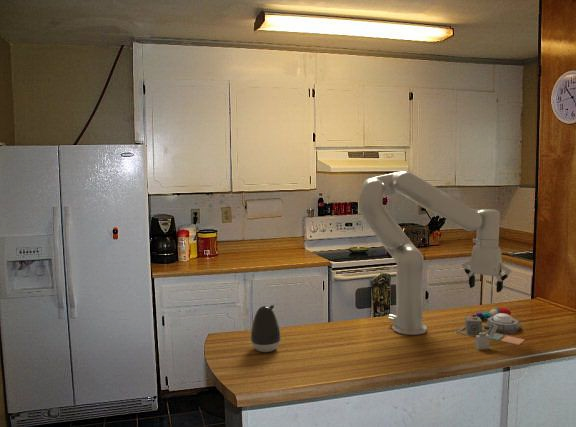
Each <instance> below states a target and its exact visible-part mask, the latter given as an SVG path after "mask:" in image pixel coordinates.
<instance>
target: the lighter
mask: <svg viewBox="0 0 576 427" xmlns="http://www.w3.org/2000/svg"><path fill="white" fill-rule="evenodd" d="M497 327H498V326H497V325H495V324H493V323H492V324H491V326H490V328H489V330H487V331H488V333H487V334H486V333H485V332H486V331H482V332H481V333H480V334H475V336H476V337H475V349H477V350H479V351H480V350H487V349H490V339H489V338H490V336H491V337H493V336H494V334H495V333H496V332H497V331H496V330H497Z"/></svg>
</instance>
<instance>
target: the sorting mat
mask: <svg viewBox="0 0 576 427" xmlns="http://www.w3.org/2000/svg"><path fill="white" fill-rule="evenodd" d="M464 329H465V326H464V327H462V328H460V329H459V330H457V331H456V333H457V334H462V335H467V336H470V337H475V338H476V334H467V332H466V333H465V332H461V331H463V330H464ZM482 332H485V333H486V334H487V333H488V330H487V329H484V328H482ZM504 336H505V334H500V333H496V332H495V334H494V336H493V337H491V336H490V338H489V340H490V339H491V340H493V341H499V340H500V339H501V338H502V339H501V340H500V342H503V343H507V344H512V345H516V346H520V345H521V344H522V343H523V342H525V338H524V339H523V338H519V337H513V336H509V335H506V336H505V337H504Z"/></svg>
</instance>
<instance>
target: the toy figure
mask: <svg viewBox="0 0 576 427" xmlns="http://www.w3.org/2000/svg"><path fill="white" fill-rule="evenodd" d="M499 313H504V314H508V315H510V316H512V311H511V310H510V309H509V308H507V307H496V308H492V309H491V310H489V311H488V312H483V313H482V312H476V314H471V315H470V317H480V319H481V320H482V321H483V320H485V319H486V320H487V319H488V318H490V317H492V316H494V315H496V314H499Z"/></svg>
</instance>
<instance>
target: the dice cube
mask: <svg viewBox="0 0 576 427" xmlns="http://www.w3.org/2000/svg"><path fill="white" fill-rule="evenodd" d="M464 318H465V319H464V327H465V328H464V329H465V332H466V334H470V335H479V334H480V333H481V332H483V330H482V329H483V320H481V319H480V317H477V316H475V317H471V316H465V317H464Z"/></svg>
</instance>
